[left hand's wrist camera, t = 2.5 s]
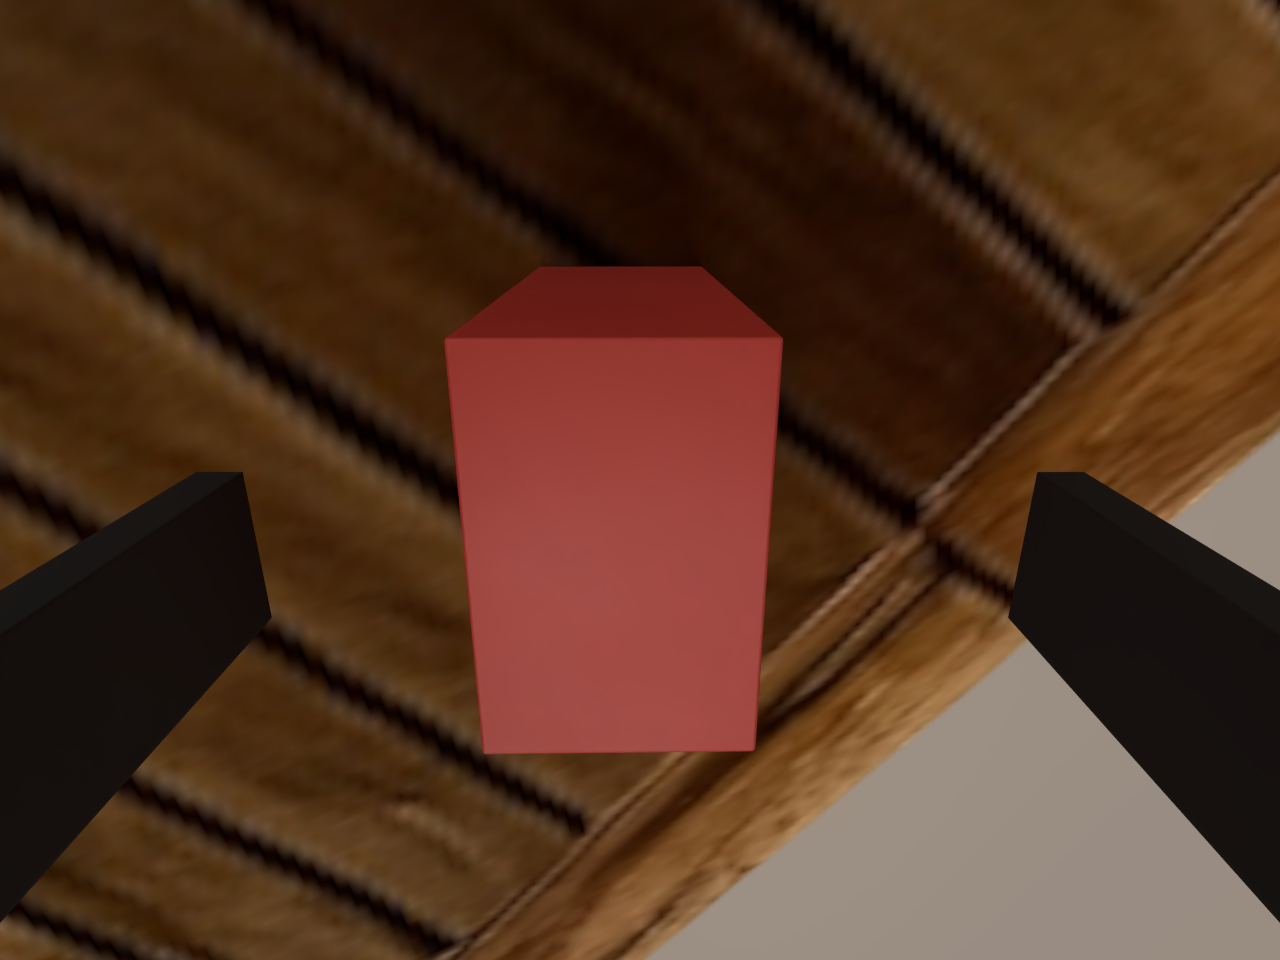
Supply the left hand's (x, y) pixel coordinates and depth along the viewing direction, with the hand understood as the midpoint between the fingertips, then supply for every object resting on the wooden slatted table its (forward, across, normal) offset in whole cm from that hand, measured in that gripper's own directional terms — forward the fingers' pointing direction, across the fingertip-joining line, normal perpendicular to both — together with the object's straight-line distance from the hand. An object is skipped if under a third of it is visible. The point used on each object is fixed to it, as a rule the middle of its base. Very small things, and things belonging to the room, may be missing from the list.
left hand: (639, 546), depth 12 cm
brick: (+11, +1, 0) cm, 11 cm away
